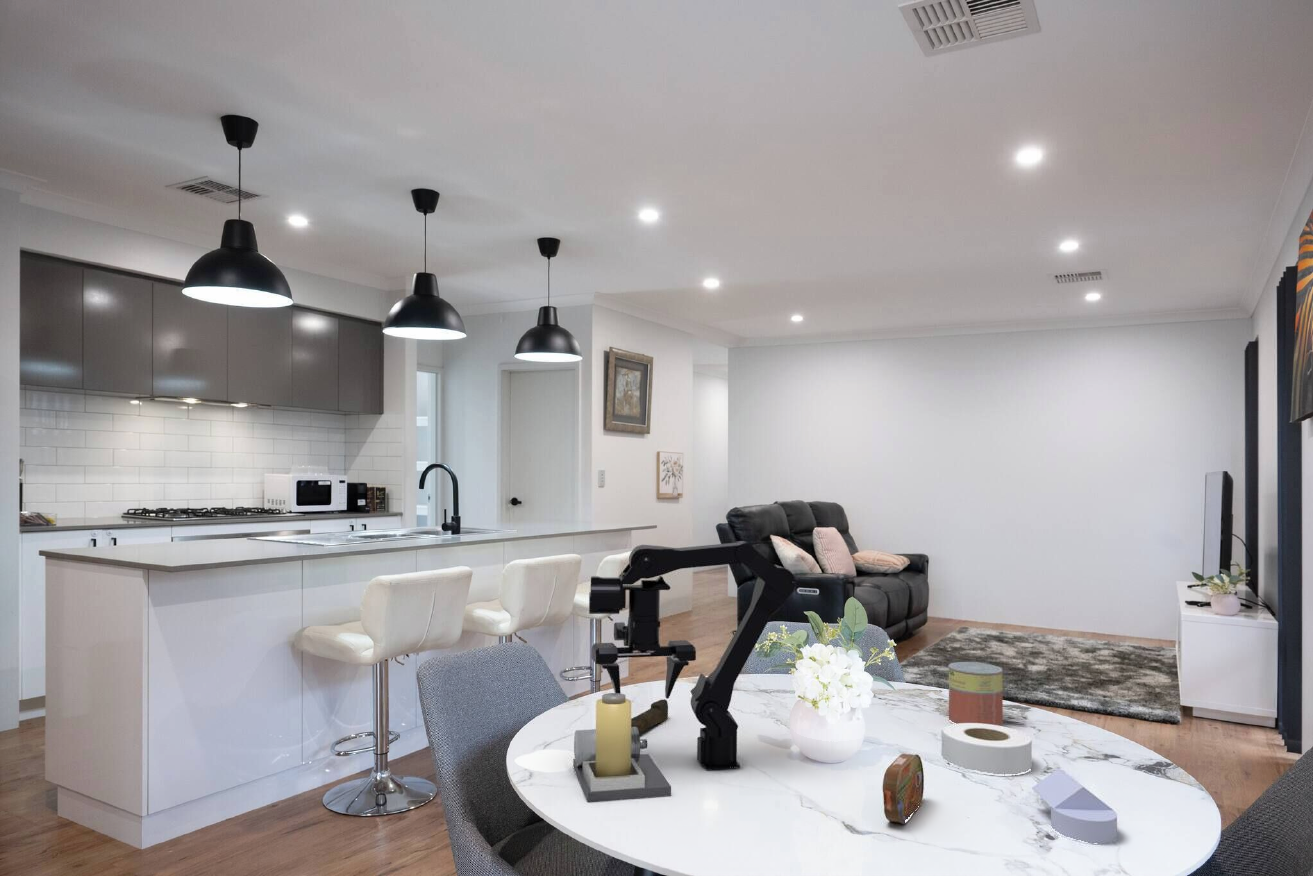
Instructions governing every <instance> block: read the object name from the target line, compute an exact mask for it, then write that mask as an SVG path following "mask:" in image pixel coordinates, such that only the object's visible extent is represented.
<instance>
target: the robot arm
mask: <svg viewBox="0 0 1313 876" xmlns="http://www.w3.org/2000/svg"><path fill="white" fill-rule="evenodd" d="M734 564H741V565H742V566H743V568H745V569H746V570H747V571H748V572H749V573H750V574H751V575H753V576H754V577H755V578H757V579H756V582H755V585H754V588H753V592H752V597H751V601H750V602H751V603H750V605H749V607H748V609H747V611H746V612H745V615H744V616H743V619H742V620H741V622H740V624H739V625H738V627H737V629H736V631H735V632H734V634H733V636H732V637H731V638H732V639H730V642H729V643H728V645H727V647H726V649H725V651H724V653H723V654H722V656H721V658H720V660H719V662H718V663H717V665H716V667H715V668H714V670H713V671H712V672H711V673H710V674H709V675H708V676H706V675H704V673H700V675H699V677H698V679H697V682H696V684H695V686H694V687H693V688H692V689H690V694H691V697H690V706H691V710H692V712H693V713H694V716H695V718H696V719H697V721H698V722H699V723H700V724H701V725H702V726H704V727H700V728H699V729H700V730H699V736H697V739H696V740H697V741H696V742H697V743H696V744H697V745H696V748H697V751H696V753H697V754H696V759H697V761H698V762H699V763H700V765H702V767H703V768H704V769H705V770H708V771H709V770H710V771H714V770H725V769H737V768H738V769H739V768H741V765H740V763H739V762H738V757H737V756H738V728H739V725H738V723H737V722H736V720H735V719H734V717H733V715H732V714H731V712H730V711H729V708H730V704H731V700H732V696H733V693H734V692H733V691H734V687H735V683H736V681H737V679H738V677H739V676H740V673H741V672H742V670H743V668H744V667H745V665H746V663H747V661H748V659H749V657H750V656H751V654H752V652H753V650H754V648H755V646H756V645H757V643H758V641H759V639H760V638H761V636H762V634H763V631H764V630H765V628H766V626H767V624H768V623H769V621H770V619H771V618H772V616H773V615H774V614H775V613H777V611H779V610H781V608H782V607H783V606H784V605H785V603H786V602H787V601H788V600H789V599H790V597H791V596H792V595H793V593H794V592H795V590H796V587H797V582H796V578H795V576H794V574H793V572H791V571H790V570H789V569H787V568H786V567H782V566H780V565H779V564H778V565H777V564H774V563H773V562H772V561H770V560H768V558H766V557H765V556H764V555H763V554H761V553H760V552H758V550H756V548H754V546H753V545H752V544H751V543H749V542H747V541H745V540H744V541H743V540H738V541H736V542H728V543H718V544H708V545H707V544H706V545H698V546H687V547H686V546H685V547H668V546H663V545H662V546H661V545H653V544H652V545H651V544H640V545H637V546H636V547H634V548H633V549H632V550H631V552H630V553H629V556H628V563H627V565H626V566H625V567H624V569H623V571H621V572H620V574H619V575H618V577H608V576H607V577H601V576H598V575H597V576H596V575H595V576H594V575H593V576H590V590H589V593H588V613H589V615H619V614H620V611H623V609H626V606H627V604H626V603H627V594H626V593H627V591H628V617H627V625H626V624H625V622H623V621H622V622H614V623H613V639H614V641H623V646H624V647H617V646H616V645H615V643H614V642H597V643H593V645H592V646H591V651H590V652H591V654H590V659H591V660H592V661H593V663H595V664H596V665H600V667H601V668H602V669H603V670H606V672H607V673H608V676H609V678H610V681H611V685H612V688H613V693H620V694H622V693H621V692H622V691H621V676H620V674H621V673H620V665H619V664H618V662H617V661H618V660H619V659H623V658H624V659H627V658H652V657H653V658H654V657H666V675H665V677H666V678H665V687H664V688H665V689H664V693H665V694H664V697H665V699H666V700H667V699H670V696H671V694H672V692H673V689H674V686H675V685H676V682H677V680H678V678H679V676H680V674H681V673H682V671H683V669H684V668H685V667H686V666H689V665H690V662H694V661H696V660H697V652H696V651H697V649H696V646H694V644H692V643H691V642H690V641H688V640H685V639H684V640H681V639H680V640H668V643H667V645H661V644H660V628H661V621H660V608H661V607H660V605H661V604H660V602H661V601H660V598H661V597H660V596H661V595H660V594H661V593H660V591H669V590H671V586H670V585H669V584H668V583H667V582H666V581H665V579H664V577H663V575H666V574H669V573H671V572H674V571H677V570H681V569H682V570H683V569H691V568H702V567H713V566H724V565H734ZM656 577H657V578H656ZM652 578H656V579H655V580H654V579H652ZM638 581H640V584H635V583H637V582H638Z"/></svg>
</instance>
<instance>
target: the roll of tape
mask: <svg viewBox="0 0 1313 876" xmlns="http://www.w3.org/2000/svg"><path fill="white" fill-rule="evenodd" d="M940 738H941V749H940V751H941V757H942V756H943V758H944V759H945V760H947V761H948V762H950V763H953V764H954V765H957V766H959V767H963V768H965V769H971V770H977V771H980V772H987V773H993V774H1004V775H1005V774H1018V773H1021V772H1026V771H1028V770H1029V769H1031V767H1032V766H1033V761H1032V760H1033V757H1032V756H1033V755H1032V754H1033V753H1032V751H1033V750H1032V749H1033V747H1032V746H1033V744H1032V743H1033V740H1032V738H1031V737H1030V736H1029V735H1028V734H1026V733H1025V732H1023V731H1020V730H1018V729H1015V728H1011V727H1006V726H1004V725H1003V726H998V725H991V724H982V723H958V724H952V723H951V724H949V725H946V726H945V727H943V728H941V735H940ZM943 758H942V759H943Z"/></svg>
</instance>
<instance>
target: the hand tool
mask: <svg viewBox="0 0 1313 876" xmlns="http://www.w3.org/2000/svg"><path fill="white" fill-rule="evenodd" d="M667 717H669V703H668V700H667V699H666V698H665V699H659V700H657V701H653V702H652V703H651V704H650V708H649V709H647V710H645V711H643V712H642V713H640V714H637V715H636V716H634V717H631V727H637V729H638V731H639V735H640V734H642V733H643V732H645V731H647V730H649V729H650V728H652V727H654V726H656V725H658V724H660V725H662V724H661V723H662V722H664V721H665V720H666V721H667V719H668V718H667ZM666 721H665V722H666ZM665 722H664V723H665Z"/></svg>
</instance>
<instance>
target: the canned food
mask: <svg viewBox="0 0 1313 876" xmlns="http://www.w3.org/2000/svg"><path fill="white" fill-rule="evenodd" d="M947 667H948V718H949V720H951V721H952V722H954V723H956V724H958V723H982V724H991V725H998V726H1002V724H1003V725H1004V720H1003V714H1004V712H1003V710H1004V709H1003V708H1004V707H1003V705H1004V704H1003V702H1004V701H1003V692H1004V691H1003V687H1004V686H1003V671H1004V669H1003V668H1002V667H1001V666H997V665H994V664H990V663H985V662H984V663H983V662H976V661H956V662H950V663H949V664H948V665H947ZM949 720H948V721H949Z"/></svg>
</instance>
